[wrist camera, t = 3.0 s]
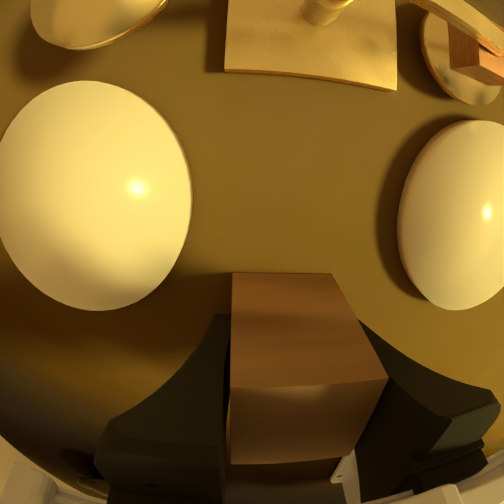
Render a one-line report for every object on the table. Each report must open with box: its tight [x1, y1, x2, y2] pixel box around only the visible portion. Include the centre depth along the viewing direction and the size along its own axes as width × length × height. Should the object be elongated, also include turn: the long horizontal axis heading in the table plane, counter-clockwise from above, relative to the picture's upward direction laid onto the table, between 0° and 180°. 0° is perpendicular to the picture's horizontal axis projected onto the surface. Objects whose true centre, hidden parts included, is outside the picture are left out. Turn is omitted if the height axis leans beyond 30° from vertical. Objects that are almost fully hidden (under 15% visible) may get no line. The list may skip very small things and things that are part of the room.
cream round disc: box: [0, 81, 193, 311], centre depth 10 cm, size 9×9×1 cm
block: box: [230, 272, 389, 464], centre depth 10 cm, size 4×4×6 cm
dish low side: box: [397, 119, 504, 310], centre depth 11 cm, size 9×9×1 cm
